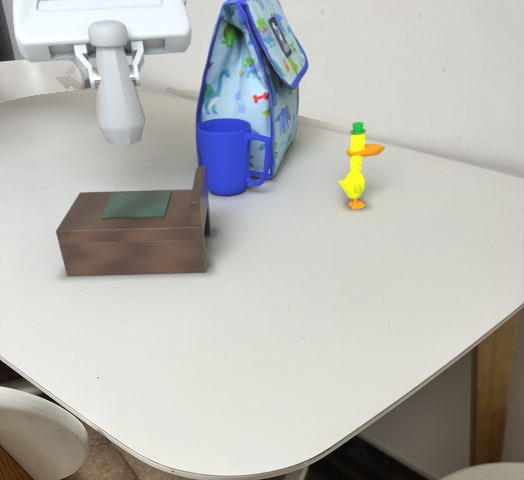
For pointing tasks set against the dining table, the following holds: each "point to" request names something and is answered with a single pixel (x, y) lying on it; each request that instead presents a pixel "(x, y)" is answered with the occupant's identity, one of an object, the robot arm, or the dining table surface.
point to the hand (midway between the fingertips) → (115, 84)
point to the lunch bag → (254, 77)
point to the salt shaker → (115, 85)
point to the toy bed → (137, 231)
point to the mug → (229, 154)
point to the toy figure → (357, 164)
